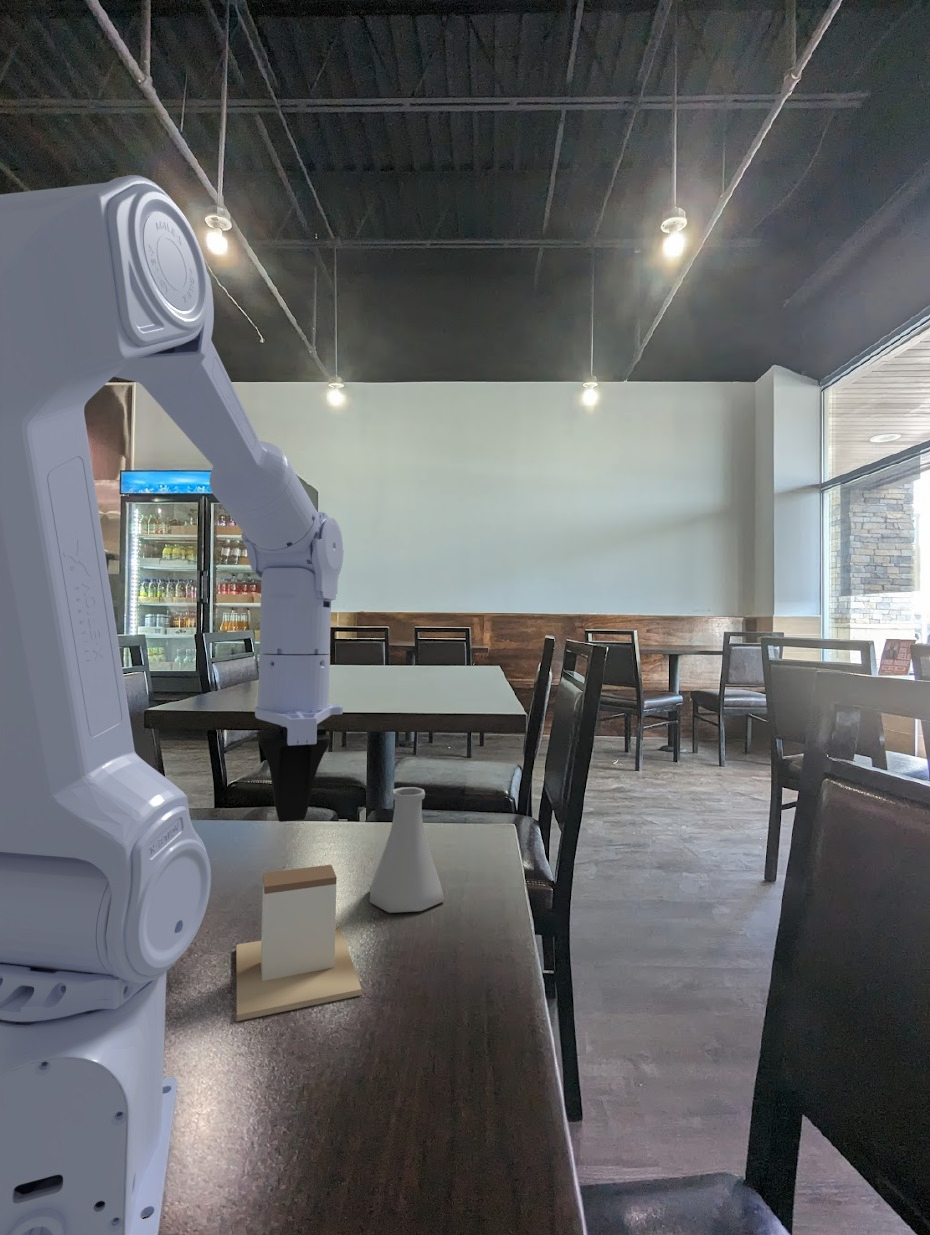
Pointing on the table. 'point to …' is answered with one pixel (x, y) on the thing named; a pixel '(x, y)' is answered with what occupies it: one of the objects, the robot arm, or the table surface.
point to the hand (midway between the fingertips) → (291, 817)
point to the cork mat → (291, 983)
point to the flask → (406, 860)
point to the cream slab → (298, 921)
